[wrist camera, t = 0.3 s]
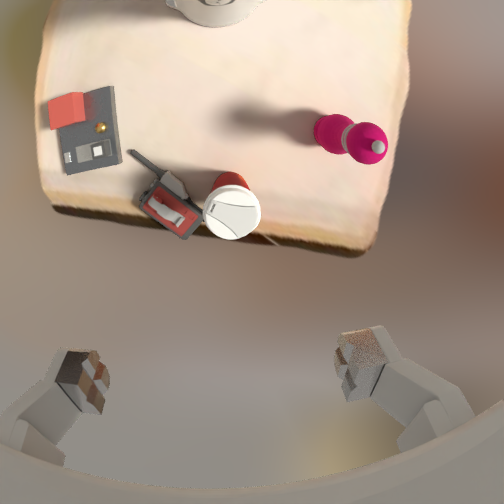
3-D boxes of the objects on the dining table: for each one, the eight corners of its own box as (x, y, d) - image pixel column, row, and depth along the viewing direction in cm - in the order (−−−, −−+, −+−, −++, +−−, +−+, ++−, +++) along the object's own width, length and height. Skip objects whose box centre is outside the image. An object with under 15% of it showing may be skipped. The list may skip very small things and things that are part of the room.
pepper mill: (322, 156, 51) (370, 185, 34) (303, 124, 48) (346, 135, 30) (352, 139, 50) (411, 160, 32) (335, 107, 47) (391, 111, 29)
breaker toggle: (95, 143, 44) (89, 145, 41) (109, 139, 44) (103, 141, 41) (98, 157, 45) (92, 160, 43) (111, 154, 45) (105, 157, 43)
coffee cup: (201, 197, 53) (193, 230, 40) (219, 158, 50) (216, 177, 37) (241, 214, 55) (246, 251, 42) (260, 177, 52) (272, 203, 39)
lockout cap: (59, 100, 38) (47, 101, 35) (82, 92, 39) (72, 92, 35) (62, 127, 41) (50, 130, 37) (85, 120, 41) (75, 122, 38)
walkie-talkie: (217, 208, 55) (136, 145, 47) (217, 216, 51) (129, 148, 43) (190, 239, 57) (112, 181, 50) (187, 249, 54) (103, 187, 46)
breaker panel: (61, 102, 40) (54, 103, 38) (113, 86, 41) (108, 85, 38) (71, 173, 47) (65, 176, 45) (122, 162, 48) (117, 165, 46)
